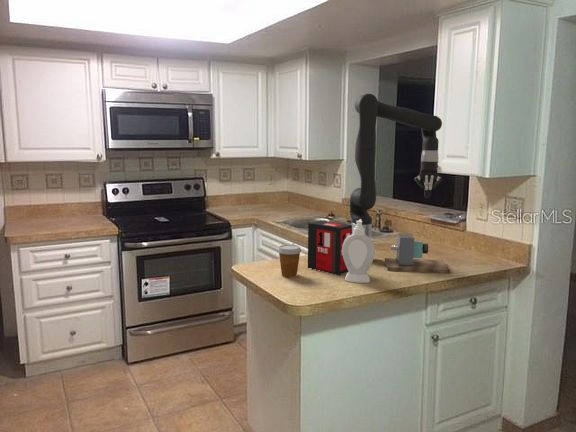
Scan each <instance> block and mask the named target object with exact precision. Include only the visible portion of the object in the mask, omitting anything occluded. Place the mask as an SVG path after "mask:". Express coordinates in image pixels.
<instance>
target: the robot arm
mask: <svg viewBox="0 0 576 432" xmlns="http://www.w3.org/2000/svg"><path fill="white" fill-rule="evenodd" d="M354 109H355V111H356V112H357V113H358V115H359V118H358V119H359V127H358V133H357V135H356V136H357V137H356V141H355V152H354V160H355V161H354V162H355V165H356V168H357V170H358V173H359V176H360V187H357V188H355V189H353V190H352V192H351V193H350V198H349V211H350V212H349V215H350V218H351V225H352V234H353V228H355V226H357V222H356V221H359V220H360V219H362V226H363V228H365V235H366V236H368V237H370V239H371V240H372V228H373V227H372V226H373V223H372V222H373V219H372V216H371V215H370V214H369V212H368V210H372V209H373V208H374V206H375V205H376V202H377V191H376V190H377V188H376V158H377V156H376V155H377V130H376V129H377V127H376V126H377V118H383V119H386V120H389V121H392V122H396V123H399V124H401V125H402V124H403V125H406V126H408V127H412V128H420V129H421V137H422V148H421V149H422V150H421V156H420V157H421V158H420V170H419V171H420V172H419V174H418V175H417V176H415V177H414V181H415V182H416V183H417V185H418V186H419V187H420V188H421V189H422V190H424V192H423V193H424V194H423V195H424V197H425V199H430V197H432V190H434V189H437V187H438V186H439V185H440V184H441V183H442V182H443V180H444V179H443V177H441V176H440V175H439V172H438V171H439V169H438V166H439V141H440V140H439V139H438V137H437V132H438V131H439V130H441V128H442V125H443V121H442V119H441V118H440V117H439V116H438V115H434V114H429V113H424V112H420V111H417V110H414V109H412V108H411V109H410V108H406V107H404V106H403V107H402V106H398V105H390V104H386V103H384V102H381V101H379V100H378V98H377V96H375V94H372V93H365V94H361V95H360V96H359V97H357V98H356V99H355V102H354ZM421 181H422V182H423V184H424V185H423V184H422V182H421ZM435 181H436V182H435ZM433 183H434V184H433Z"/></svg>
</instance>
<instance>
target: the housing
mask: <svg viewBox="0 0 576 432" xmlns="http://www.w3.org/2000/svg"><path fill="white" fill-rule="evenodd" d="M396 237H397V239H396V240H397V241H396V245H399V249H398V250H396V260H397V263H398V265H399V266H413V259H414V258H413V253H414V241H415V237H414V235H413V233H407V232H406V233H404V232H403V233H402V232H398V233H397V236H396Z"/></svg>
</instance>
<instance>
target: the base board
mask: <svg viewBox="0 0 576 432" xmlns="http://www.w3.org/2000/svg"><path fill="white" fill-rule="evenodd" d="M384 263H385V267H386V271H390V272H409V273H410V272H414V273H415V272H416V273H417V272H418V273H434V274H435V273H437V274H439V273H440V274H441V273H442V274H450V273H451V269H450V268H449V266H448V265H447V264H446V262H445V261H444V260H443V259H423V258H413V266H399V265H398V263H397V260H396V258H395V257H393V258H392V257H391V258H390V257H385V258H384Z"/></svg>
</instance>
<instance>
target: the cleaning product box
mask: <svg viewBox="0 0 576 432" xmlns="http://www.w3.org/2000/svg"><path fill="white" fill-rule="evenodd" d="M349 235H352V224H347V223H341V222H340V223H339V222H333V221H325V220H316V221H312V222H308V228H307V236H308V237H307V269H309V268H312V269H311V270H313V269H316V270H315V271H318V270H320V271H319V272H322V271H324V272H323V273H326V272H328V273H327V274H331V273H332V275H335V274H336V275H335V276H341V274H342V275H344V274H347V273H348V269H347V267H346V264H345V262H344V259H343V255H342V246H343V243H344V240H345V239H346V238H347V237H348V236H349ZM346 272H347V273H346Z"/></svg>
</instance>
